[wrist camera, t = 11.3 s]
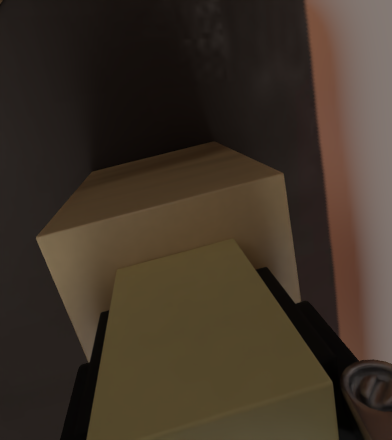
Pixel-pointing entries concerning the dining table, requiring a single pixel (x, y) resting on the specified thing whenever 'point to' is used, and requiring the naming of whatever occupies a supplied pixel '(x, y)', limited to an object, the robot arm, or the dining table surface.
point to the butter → (206, 357)
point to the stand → (165, 223)
